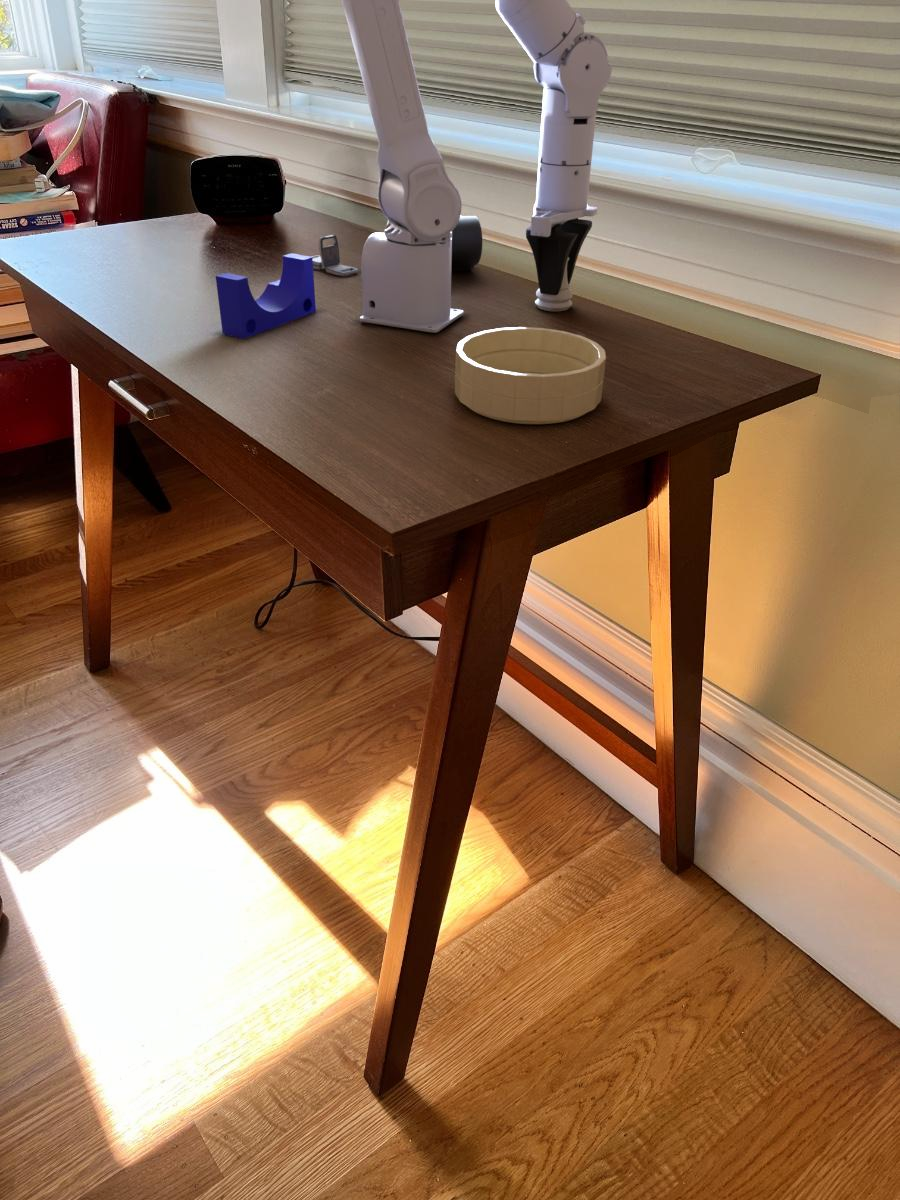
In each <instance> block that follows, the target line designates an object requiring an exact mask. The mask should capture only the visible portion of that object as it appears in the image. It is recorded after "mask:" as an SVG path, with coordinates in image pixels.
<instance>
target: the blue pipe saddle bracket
mask: <svg viewBox="0 0 900 1200" xmlns="http://www.w3.org/2000/svg"><path fill="white" fill-rule="evenodd" d="M215 283H216V290H217V291H216V292H217V299H218V300H217V301H218V307H219V315H220V323H221V332H222V334H223V335H225V336H229V337H230V336H231V337H235V338H239V339H243V340H244V339H247V338H249V337H253V336H255V335H258V334H260V333H263V332H266V331H268V330H271V329H274V328H276V327H279V326H282V325H285V324H287V323H289V322H292V321H295V320H297V319H300V318H303V317H306V316H308V315H311V314H313V313H317V308H316V307H317V305H316V291H315V290H316V289H315V277H314V268H313V258H312V256H309V255H302V254H297V253H292V252H291V253H288V254H285V255H282V270H281V276H280V279H277V280H275V281H272V282H269V283H267V285H266V287H265V288H264V291H263V292H262V294H261V295H260V296H259V297H258V298H256V300H255V298H254V296H253V293H252V291H251V289H250V285H249V279H248V277H247V276H243V275H239V274H234V273H230V272H229V273H228V272H224V273H220V274H217V275H215Z"/></svg>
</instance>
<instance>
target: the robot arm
mask: <svg viewBox="0 0 900 1200" xmlns="http://www.w3.org/2000/svg"><path fill="white" fill-rule="evenodd" d="M341 3H342V7H343V11H344V15H345V18H346V23H347V26H348V30H349V34H350V37H351V41H352V45H353V49H354V53H355V57H356V60H357V61H356V62H357V64H358V68H359V72H360V76H361V80H362V84H363V88H364V91H365V95H366V100H367V103H368V106H369V110H370V114H371V118H372V122H373V125H374V129H375V133H376V137H377V141H378V148H377V153H376V156H375V162H376V165H377V169H378V185H377V202H378V207H379V209H380V210H381V212H382V214H383V215H384V216H385V217H386V218H387V222H386V225H385V228H384V232H373V233H371V234H370V235H368V237H367V239H366V240H365V241H364V244H363V248H362V251H361V252H362V253H361V261H360V267H361V268H360V269H361V270H360V271H361V299H362V315H361V316H360V317H359V321H360V322H362V323H369V324H374V325H381V326H386V327H393V328H398V329H399V328H401V329H406V330H412V331H419V332H425V333H435V334H436V333H438V332H440V331H442V330H443V329H445V328H446V327H447V326H449V325H450V324H452V323H453V322H455V321H456V320H458V319H459V318H461V317H462V316H463V315H464V313H465V311H464V310H463V309H458V308H451V306H452V270H451V261H452V238H451V237H452V231H453V229H454V228H455V227H456V225H457V223H458V221H459V218H460V215H461V216H462V208H463V207H462V198H461V195H460V192H459V190H458V188H457V186H456V185H455V183H453V182H452V180H451V179H450V177H449V176H448V173H447V171H446V168H445V162H444V160H443V157H442V155H441V153H440V151H439V149H438V147H437V146H436V144H435V142H434V141H433V138H432V137H431V135H430V132H429V131H430V130H429V126H428V122H427V119H426V113H425V109H424V105H423V101H422V96H421V92H420V87H419V83H418V79H417V78H418V77H417V74H416V70H415V66H414V62H413V58H412V53H411V48H410V43H409V39H408V35H407V30H406V27H405V22H404V18H403V13H402V8H401V4H400V0H341ZM495 9H496V12H497V13H498V14H499V16H500V17H501V19H502V20H503V22H504V23H505V24H506V25H507V27H508V28H509V30H510V31H511V32H512V34H513V35H514V37H515V38H516V39H517V41H518V42H519V44H520V45H521V46H522V48H523V49H524V51H525V52H526V53H527V55H528V56H529V58H530V60H531V61H532V62H533V73H534V79H535V80H536V82H537V84H539V85H541V87H543V91H542V92H543V93H542V106H541V120H540V137H539V150H538V163H537V164H538V165H537V179H536V180H537V181H536V193H535V195H536V196H535V203H534V204H533V215H532V216H531V219H530V220H531V221H530V222H531V223H530V226H528V227H527V228H526V229H525V238H526V240H527V242H528V244H529V246H530V249H531V252H532V256H533V259H534V263H535V269H536V275H537V282H538V289H540V293H542V294H550V295H558V294H559V291H560V289H561V285H562V281H563V276H564V271H565V266H566V262H567V280H568V284H569V285H570V283H571V281H572V279H573V278H572V277H573V274H574V271H575V267H576V265H577V264H576V263H577V260H578V257H579V253H580V252H581V249H582V247H583V244H584V242H585V240H586V238H587V237H588V234H589V232H590V231H591V229H592V227H593V221H592V220H589V219H581V218H584V217H595V216H596V215H597V214H598V207H597V206H590V205H589V204H588V201H589V190H590V179H591V169H592V160H593V159H592V158H593V150H594V138H595V128H596V117H597V111H598V107H599V99H600V96H601V94H602V92H603V91H604V89H605V88H606V86H607V85H608V83H609V81H610V78H611V75H612V72H613V66H612V65H610V64H609V60H608V56H609V55H608V51H607V49H606V46H605V44H604V43H603V42H602V40H601V39H600V38H599V37H597V36H596V35H593V34H591V33H585V27H584V25H585V24H586V20H585V18H584V17H583V15H582V14H581V13H576V12H575V11H574V9H573V8H572V6H571V5H570V3H569V2H568V0H495ZM568 257H569V260H568V261H567V259H568Z"/></svg>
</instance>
